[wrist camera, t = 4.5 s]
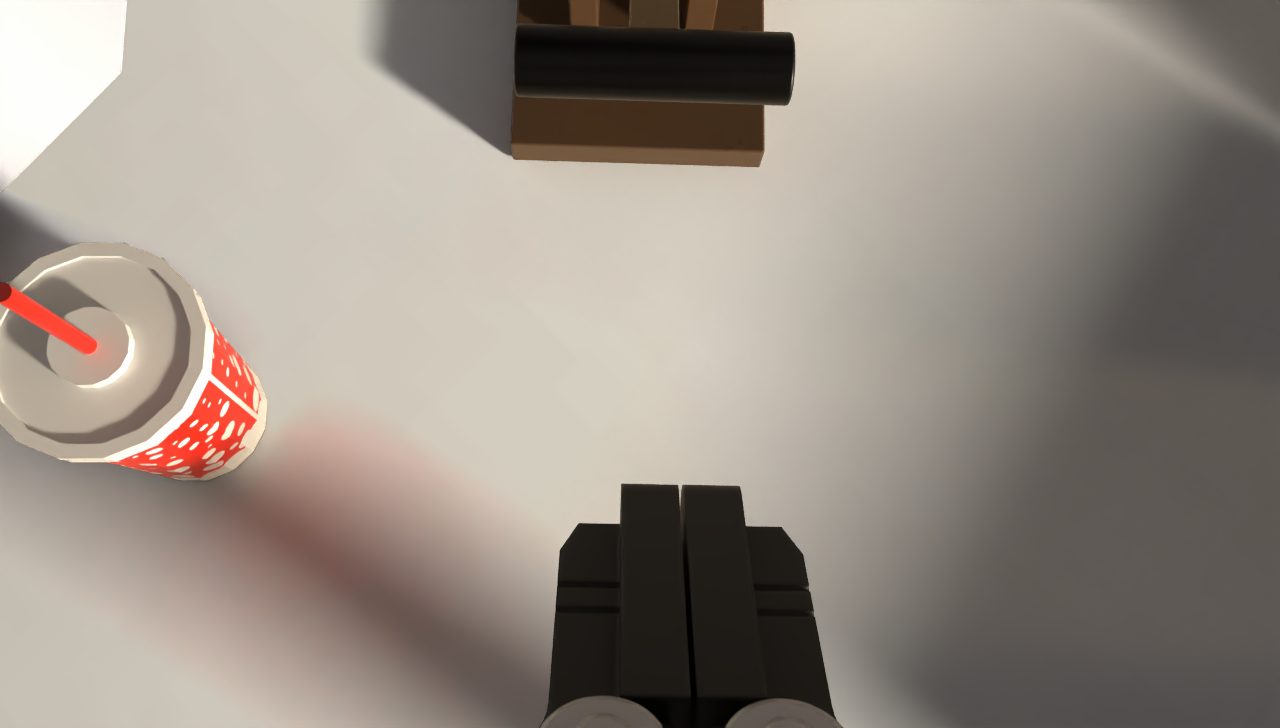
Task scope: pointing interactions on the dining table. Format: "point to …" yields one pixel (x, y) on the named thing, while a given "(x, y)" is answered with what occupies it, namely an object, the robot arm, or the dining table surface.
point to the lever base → (639, 124)
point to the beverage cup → (123, 367)
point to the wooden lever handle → (653, 61)
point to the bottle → (52, 70)
